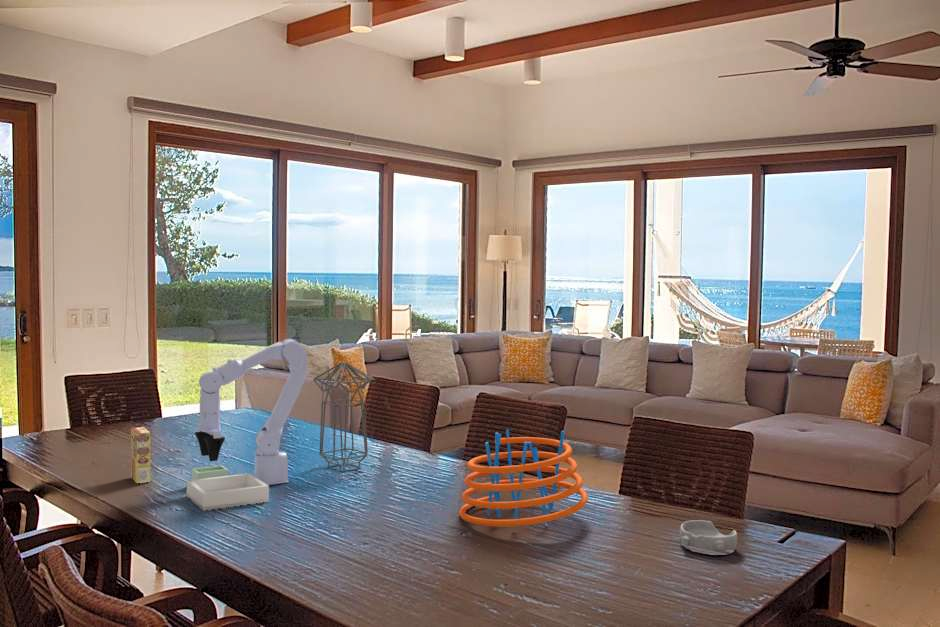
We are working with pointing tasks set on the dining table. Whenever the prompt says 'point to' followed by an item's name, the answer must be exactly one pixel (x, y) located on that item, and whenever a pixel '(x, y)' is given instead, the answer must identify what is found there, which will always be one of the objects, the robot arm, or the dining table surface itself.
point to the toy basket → (522, 481)
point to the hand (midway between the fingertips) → (209, 458)
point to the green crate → (209, 472)
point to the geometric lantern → (368, 379)
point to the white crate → (227, 491)
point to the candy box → (140, 455)
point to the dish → (706, 536)
